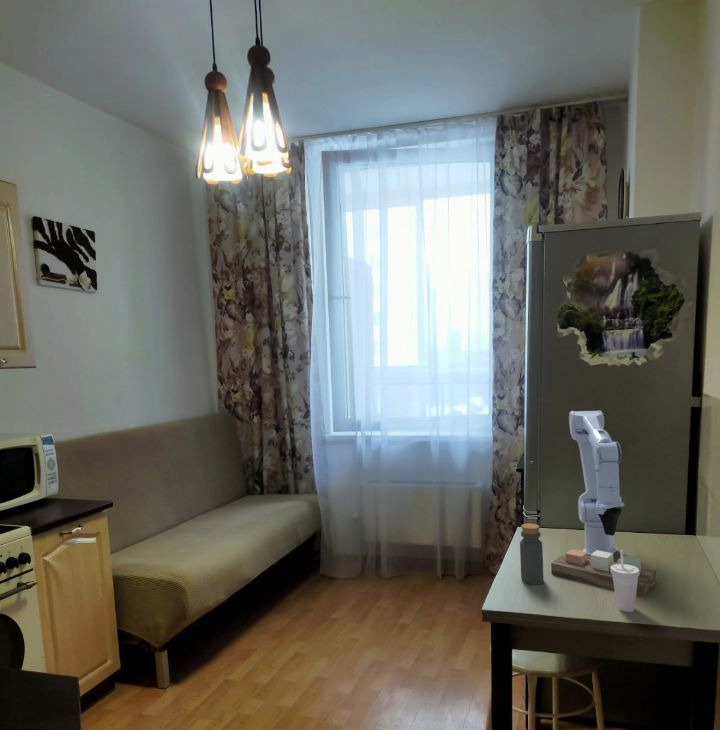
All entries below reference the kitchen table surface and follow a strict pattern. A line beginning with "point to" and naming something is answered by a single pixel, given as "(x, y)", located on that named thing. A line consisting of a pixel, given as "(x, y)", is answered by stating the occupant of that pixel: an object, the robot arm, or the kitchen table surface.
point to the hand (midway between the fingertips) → (609, 534)
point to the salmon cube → (577, 557)
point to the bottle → (531, 554)
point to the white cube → (602, 560)
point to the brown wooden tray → (600, 574)
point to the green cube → (631, 562)
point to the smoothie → (625, 585)
